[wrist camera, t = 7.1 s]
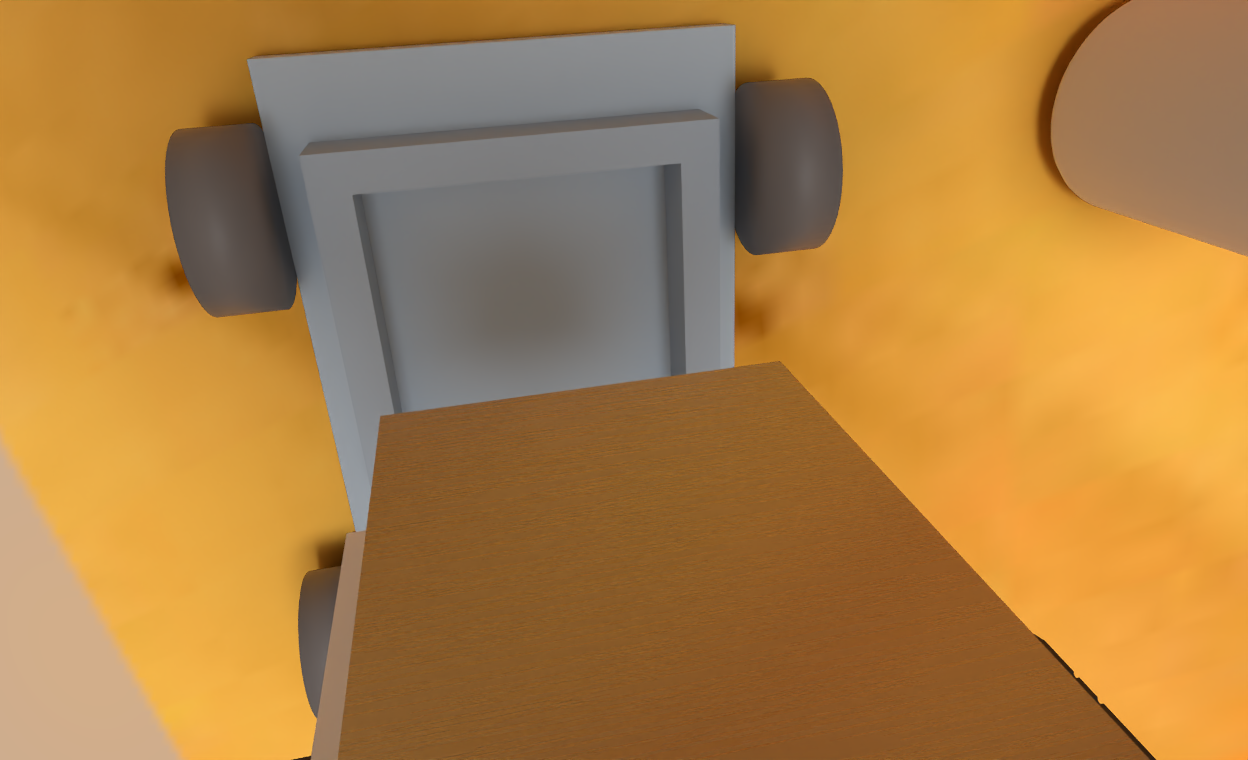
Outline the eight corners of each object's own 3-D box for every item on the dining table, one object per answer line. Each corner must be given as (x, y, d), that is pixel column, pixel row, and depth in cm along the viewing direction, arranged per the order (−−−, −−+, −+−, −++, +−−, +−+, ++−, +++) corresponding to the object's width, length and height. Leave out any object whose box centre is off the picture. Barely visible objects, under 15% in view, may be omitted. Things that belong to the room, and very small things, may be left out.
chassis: (185, 61, 21) (127, 79, 17) (780, 19, 23) (851, 26, 19) (346, 677, 29) (332, 784, 25) (766, 600, 32) (812, 687, 28)
